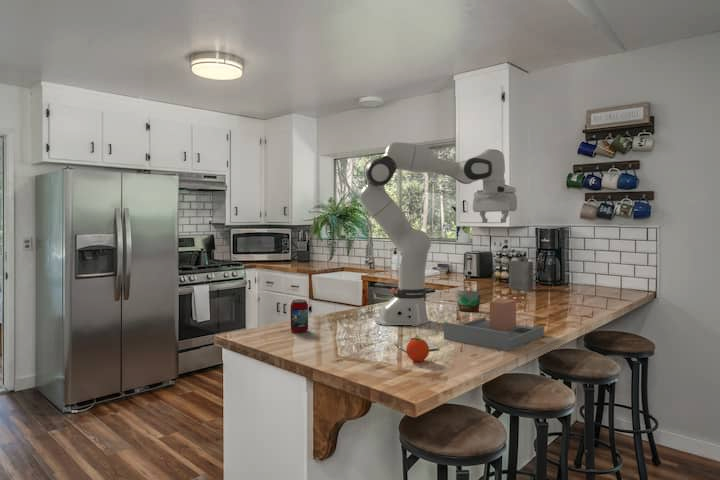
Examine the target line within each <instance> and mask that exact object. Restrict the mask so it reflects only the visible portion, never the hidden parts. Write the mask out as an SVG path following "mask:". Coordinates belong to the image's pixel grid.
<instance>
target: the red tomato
mask: <svg viewBox="0 0 720 480" xmlns="http://www.w3.org/2000/svg"><path fill="white" fill-rule="evenodd" d="M424 340H425V339H422V338H421V337H419V338H416V339H412V340H411V339H410V340H409V341H410V342H409V343H408V344H406V349H405V350H406V351H405V352H406V355H407V357H408V358H409V359H410V360H411V361H413V362H423V361H424V360H426V359H427V358H428V357H429V356H428V355H429V352H430V350H429V349H430V347H429V346H428V344H427V343H426V342H425V341H424Z"/></svg>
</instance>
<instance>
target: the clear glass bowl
mask: <svg viewBox="0 0 720 480" xmlns="http://www.w3.org/2000/svg"><path fill="white" fill-rule="evenodd" d="M416 338H420V336H419V335H418V334H415V335H414V337H411V339H410V340H407V341H406V340H405V341H402V342H410V341H411V340H412V339H416ZM423 340H424V341H425V342H426V343H427V344H428V345H429V346H431V347H432V348H431V347H430V348H429V351H437V350H439V349H440V348H439V347H437V346H436V345H435V344H433V343H430V341H427V340H426V339H423ZM400 342H401V341H394V342H392V343H393V344H394V345H395V346H397V347H399V349H401V350H403V351H404V352H406V349H405V348H404V347H402V346H400V344H398V345H397V344H396V343H400ZM429 346H428V347H429ZM433 348H434V349H433ZM404 349H405V350H404ZM436 349H437V350H436Z"/></svg>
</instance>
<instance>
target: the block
mask: <svg viewBox="0 0 720 480" xmlns="http://www.w3.org/2000/svg"><path fill="white" fill-rule="evenodd" d="M489 321H490V329H495V330H501V331H505V330H507V329H510V328H513V327H516V325H517V300H516V299H508V298H499V299H496V300H492V301H489Z"/></svg>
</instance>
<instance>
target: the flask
mask: <svg viewBox="0 0 720 480" xmlns="http://www.w3.org/2000/svg"><path fill="white" fill-rule="evenodd" d="M525 260H526V259H525V257H524V256H519V257H518V260H509V262H508V263H509V267H508V269H509V271H508V274H509V275H508V277H509V279H508V290H510V291H521V292H529V293H532V292H533V288H534V287H533V286H534V283H533V281H534V277H533V276H534V262H533V261H527V260H526V261H525Z"/></svg>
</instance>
